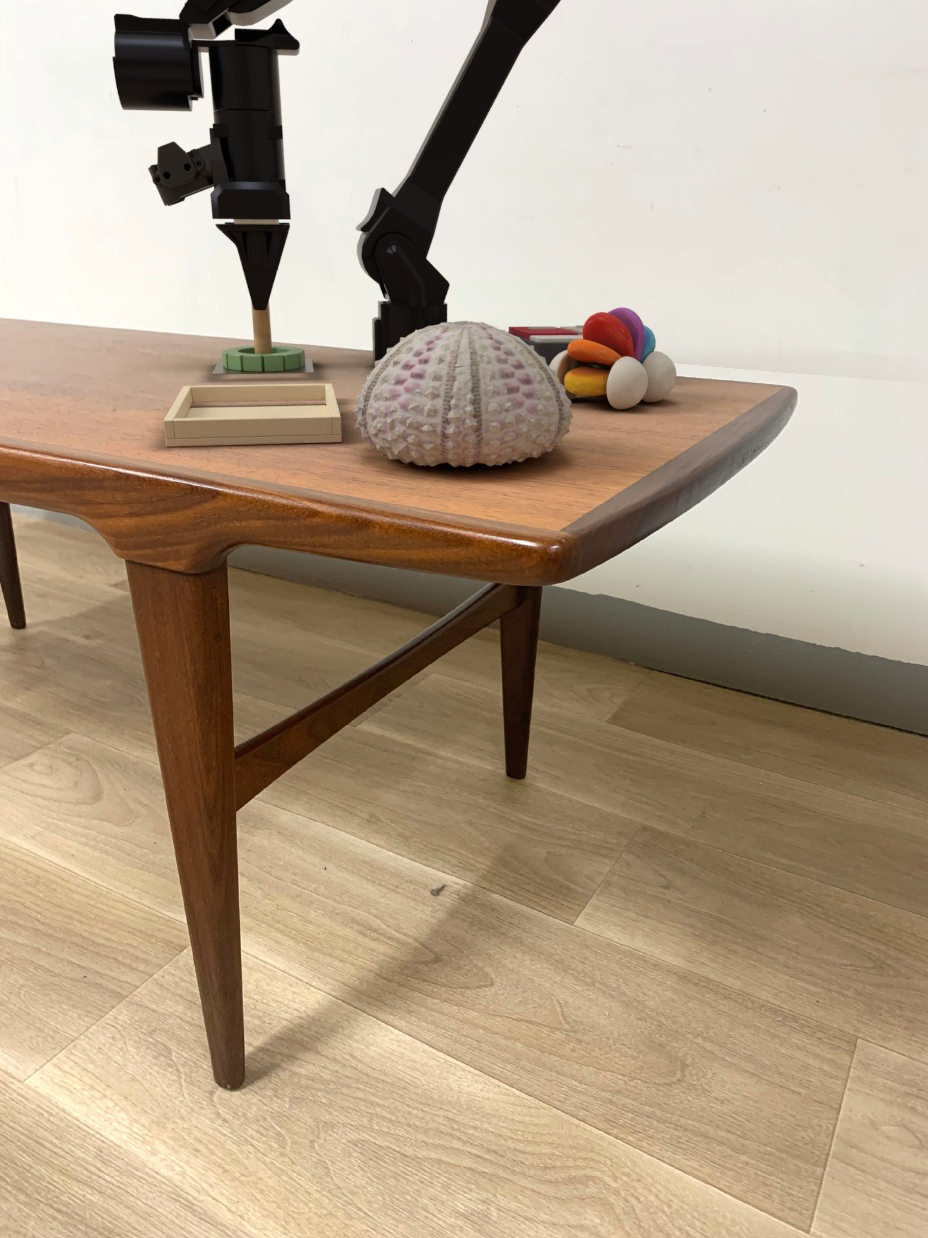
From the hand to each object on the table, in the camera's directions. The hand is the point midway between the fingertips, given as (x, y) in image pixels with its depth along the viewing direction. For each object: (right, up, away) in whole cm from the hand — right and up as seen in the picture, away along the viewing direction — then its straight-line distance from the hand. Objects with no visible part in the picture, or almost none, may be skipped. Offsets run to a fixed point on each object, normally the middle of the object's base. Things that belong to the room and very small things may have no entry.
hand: (261, 305), depth 87 cm
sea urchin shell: (+19, -19, -27) cm, 38 cm away
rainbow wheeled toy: (+31, -11, -9) cm, 34 cm away
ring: (0, -5, +2) cm, 5 cm away
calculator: (+29, -5, +4) cm, 30 cm away
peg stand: (0, -6, +2) cm, 6 cm away
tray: (+4, -15, -19) cm, 25 cm away
